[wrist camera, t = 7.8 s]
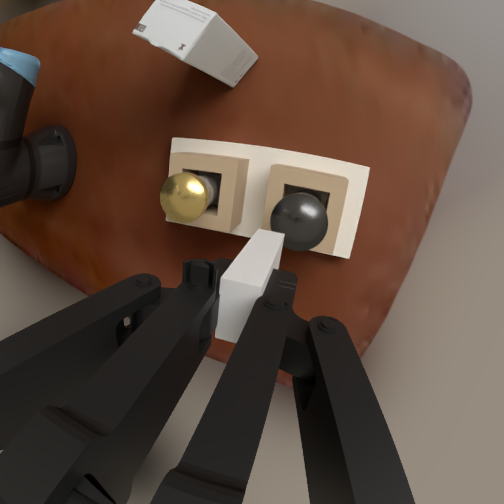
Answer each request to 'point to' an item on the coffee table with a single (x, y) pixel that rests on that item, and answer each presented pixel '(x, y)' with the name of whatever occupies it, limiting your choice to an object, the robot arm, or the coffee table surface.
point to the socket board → (263, 179)
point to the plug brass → (189, 195)
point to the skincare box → (197, 39)
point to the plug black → (300, 220)
